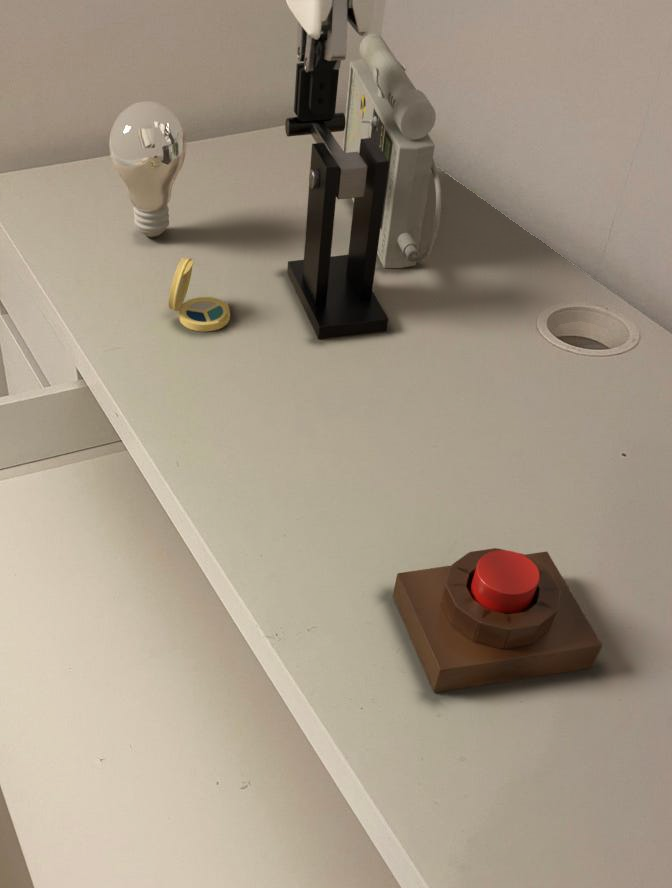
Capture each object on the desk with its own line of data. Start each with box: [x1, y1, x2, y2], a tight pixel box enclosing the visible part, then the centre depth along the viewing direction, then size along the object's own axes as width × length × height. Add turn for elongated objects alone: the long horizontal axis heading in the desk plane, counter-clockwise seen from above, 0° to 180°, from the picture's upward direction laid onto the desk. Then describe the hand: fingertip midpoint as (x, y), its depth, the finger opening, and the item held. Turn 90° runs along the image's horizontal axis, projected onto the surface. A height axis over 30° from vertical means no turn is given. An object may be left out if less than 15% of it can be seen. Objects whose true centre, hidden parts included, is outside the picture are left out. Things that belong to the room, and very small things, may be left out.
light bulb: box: [108, 100, 187, 239], centre depth 90 cm, size 7×7×12 cm
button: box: [471, 549, 540, 614], centre depth 58 cm, size 4×4×2 cm
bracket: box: [286, 138, 389, 340], centre depth 81 cm, size 11×6×13 cm, turn 10°
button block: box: [392, 547, 603, 694], centre depth 59 cm, size 10×8×4 cm
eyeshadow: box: [168, 257, 231, 332], centre depth 83 cm, size 4×5×5 cm
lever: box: [284, 112, 368, 200], centre depth 81 cm, size 12×5×2 cm, turn 10°
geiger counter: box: [342, 33, 442, 269], centre depth 89 cm, size 14×6×25 cm
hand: (313, 116), depth 84 cm, fingers closed
